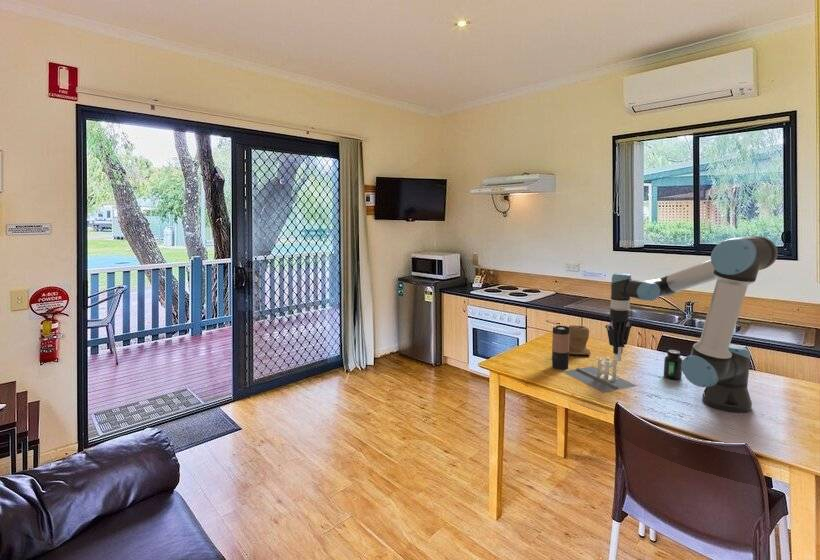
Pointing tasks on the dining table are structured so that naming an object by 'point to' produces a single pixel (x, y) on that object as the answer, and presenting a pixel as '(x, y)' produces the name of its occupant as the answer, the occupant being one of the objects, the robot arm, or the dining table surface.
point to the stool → (607, 369)
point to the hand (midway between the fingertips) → (617, 360)
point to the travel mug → (560, 347)
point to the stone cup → (578, 340)
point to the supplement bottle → (673, 365)
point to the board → (598, 379)
